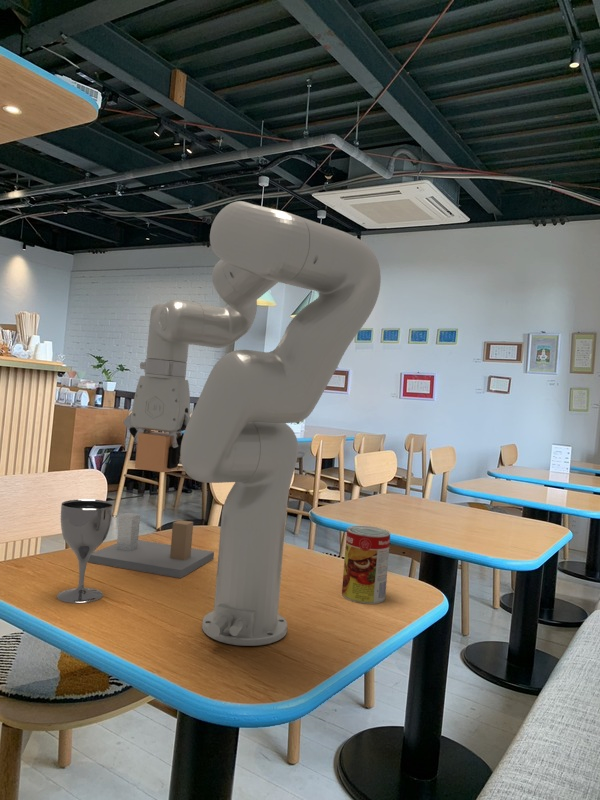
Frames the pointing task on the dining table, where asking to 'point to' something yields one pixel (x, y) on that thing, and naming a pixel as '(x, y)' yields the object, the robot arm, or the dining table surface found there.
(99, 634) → the dining table surface
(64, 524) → the wine glass
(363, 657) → the dining table surface
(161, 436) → the tan cardboard box
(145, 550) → the post stand
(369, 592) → the canned food
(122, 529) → the steel post
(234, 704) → the dining table surface
